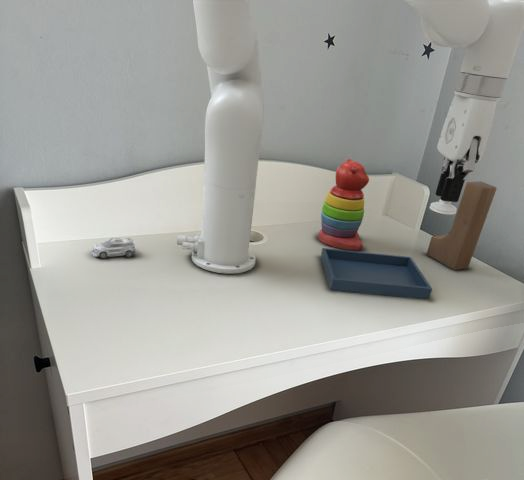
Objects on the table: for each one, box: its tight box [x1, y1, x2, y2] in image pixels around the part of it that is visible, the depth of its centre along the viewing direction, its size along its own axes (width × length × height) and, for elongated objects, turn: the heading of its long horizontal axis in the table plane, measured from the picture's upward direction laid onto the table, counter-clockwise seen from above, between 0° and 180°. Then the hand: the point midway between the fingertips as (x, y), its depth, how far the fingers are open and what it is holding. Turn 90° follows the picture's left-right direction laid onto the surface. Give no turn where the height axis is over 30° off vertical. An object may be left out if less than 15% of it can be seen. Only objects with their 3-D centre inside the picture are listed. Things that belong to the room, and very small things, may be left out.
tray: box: [320, 247, 433, 300], centre depth 104 cm, size 19×15×2 cm
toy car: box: [91, 237, 136, 260], centre depth 98 cm, size 4×8×3 cm, turn 114°
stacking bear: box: [317, 158, 370, 252], centre depth 115 cm, size 11×10×18 cm
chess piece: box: [429, 158, 464, 216], centre depth 94 cm, size 5×5×10 cm
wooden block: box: [426, 181, 497, 271], centre depth 112 cm, size 9×4×18 cm, turn 29°
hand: (446, 197), depth 95 cm, fingers closed on chess piece
